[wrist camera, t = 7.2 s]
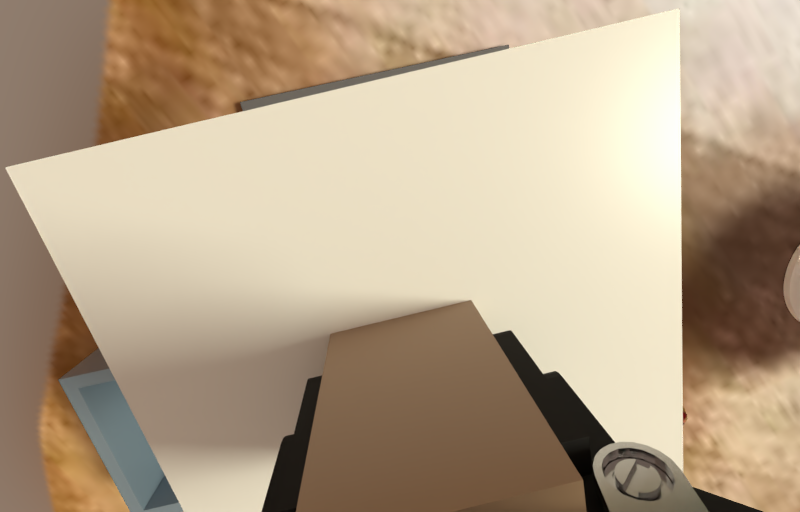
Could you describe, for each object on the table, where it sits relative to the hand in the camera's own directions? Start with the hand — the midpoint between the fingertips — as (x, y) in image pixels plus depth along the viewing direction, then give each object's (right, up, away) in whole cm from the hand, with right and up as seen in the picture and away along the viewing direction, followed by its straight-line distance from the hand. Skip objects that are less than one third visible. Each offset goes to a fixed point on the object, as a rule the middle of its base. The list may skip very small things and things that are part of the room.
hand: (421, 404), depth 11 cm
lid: (0, +1, +2) cm, 2 cm away
